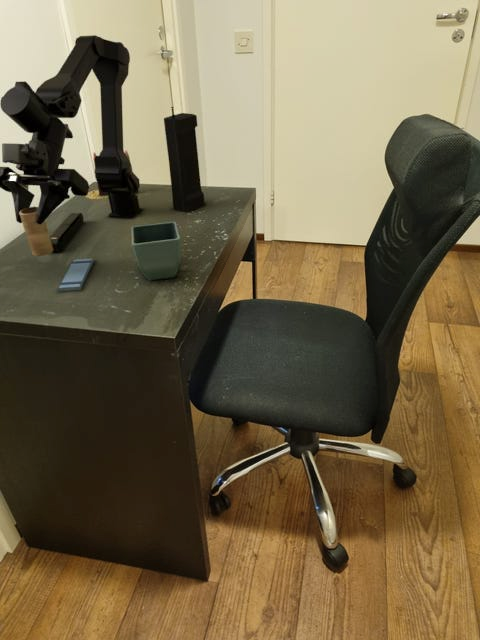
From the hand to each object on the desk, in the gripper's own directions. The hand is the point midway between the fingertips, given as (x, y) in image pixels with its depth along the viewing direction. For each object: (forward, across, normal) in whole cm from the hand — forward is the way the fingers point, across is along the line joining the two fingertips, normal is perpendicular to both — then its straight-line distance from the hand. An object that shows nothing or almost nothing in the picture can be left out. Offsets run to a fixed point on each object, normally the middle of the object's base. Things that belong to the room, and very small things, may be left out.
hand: (28, 222), depth 88 cm
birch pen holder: (+4, 0, +6) cm, 7 cm away
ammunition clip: (-27, -10, +44) cm, 52 cm away
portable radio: (-22, +15, +39) cm, 47 cm away
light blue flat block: (+7, +6, +10) cm, 13 cm away
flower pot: (+4, +23, +13) cm, 26 cm away
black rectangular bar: (-5, -7, +22) cm, 24 cm away
